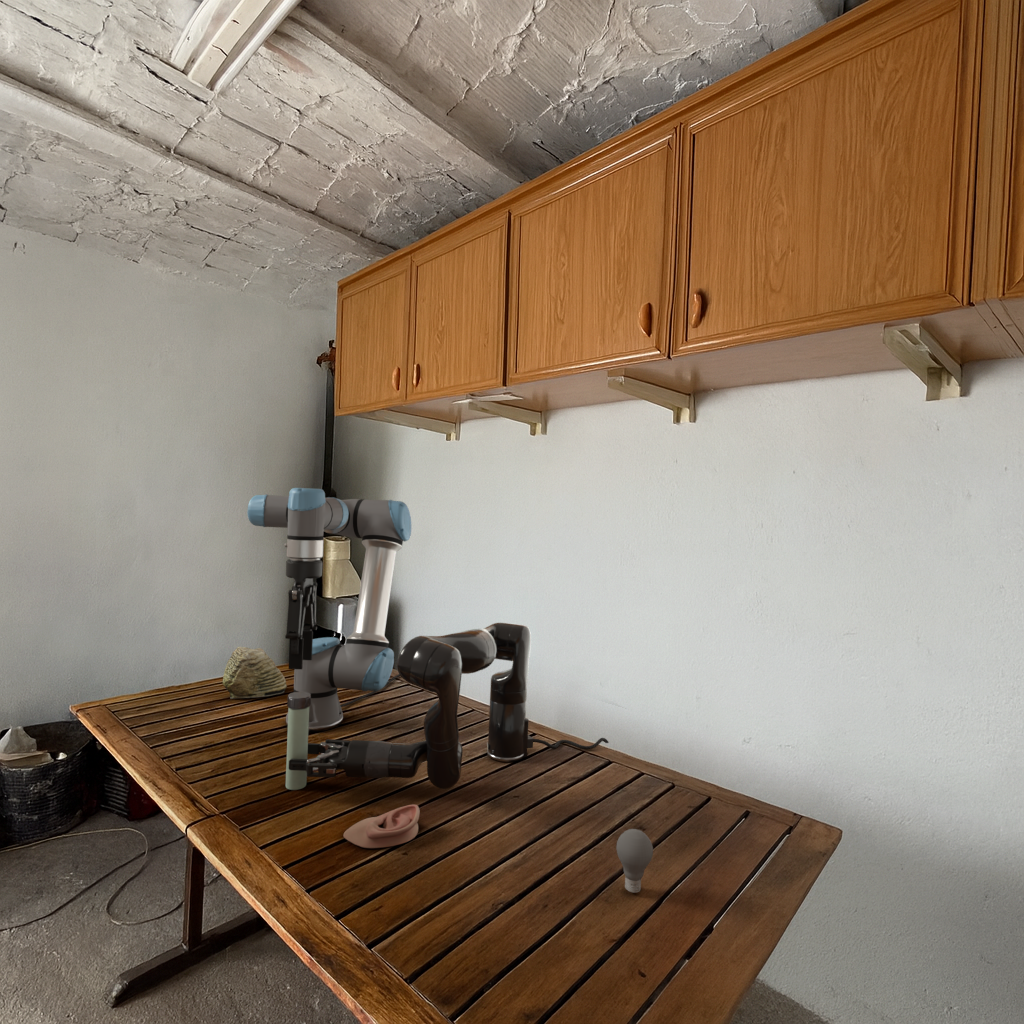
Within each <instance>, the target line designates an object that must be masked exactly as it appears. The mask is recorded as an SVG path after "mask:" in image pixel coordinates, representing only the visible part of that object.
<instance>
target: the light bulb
mask: <svg viewBox="0 0 1024 1024" xmlns="http://www.w3.org/2000/svg"><path fill="white" fill-rule="evenodd" d="M615 849H616V854H617V857H618V859H619V861H620V863H621V865H622V867H623V873H624V874H623V875H624V876H625V878H624V888H625V890H627V891H628V892H630V893H634V894H635V893H639V892H640V891H641V889H642V887H641V886H642V879H643V877H644V875H645V871H646V868H647V867H648V866H649V864H650V863H651V861H652V859H653V855H654V847H653V843H652V841H651V838H649V836H648V835H647V834H646V833H645V832H643V831H642V830H641V829H636V828H629V829H627V830H625V831H623V832H622V833H621V834H620V835H619V837H618V839H617V841H616V847H615Z"/></svg>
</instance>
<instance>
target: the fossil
mask: <svg viewBox="0 0 1024 1024" xmlns="http://www.w3.org/2000/svg"><path fill="white" fill-rule="evenodd" d="M222 676H223V677H222V685H223V687H224V688H225V690H226V691H228V693H229V698H230V699H250V698H264V697H271V696H275V695H281V694H284V693H285V691H286V689H287V687H288V686H287V680H286V678H285V676H284V674H283V673H282V672H281V669H279V668H278V667H277V665H276V663H275V662H274V660H273V659H272V658H271V657H270V656H269V655H268V654H267V653H266V652H265V650H264V649H263V648H260V647H258V648H251V647H247V646H246V647H245V646H238V647H237V648H236V649H235V650H233V651H232V653H231V656H230V657H229V659H228V660H227V663H226V666H225V668H224V671H223V675H222Z"/></svg>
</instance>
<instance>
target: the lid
mask: <svg viewBox="0 0 1024 1024" xmlns="http://www.w3.org/2000/svg"><path fill="white" fill-rule="evenodd" d="M286 701H287V703H286V706H287V708H288V707H289V708H291V709H303V708H307V707H309V706H310V705H311V694H310V693H308V692H294V691H293V692H290V693H289V694H288V695H287V699H286Z"/></svg>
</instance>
